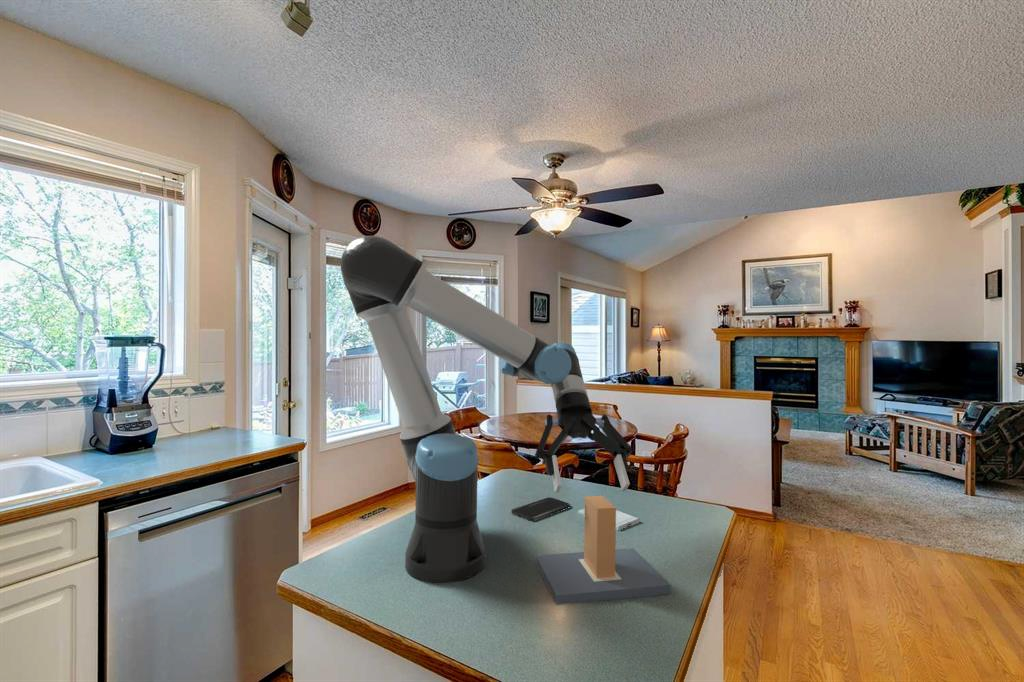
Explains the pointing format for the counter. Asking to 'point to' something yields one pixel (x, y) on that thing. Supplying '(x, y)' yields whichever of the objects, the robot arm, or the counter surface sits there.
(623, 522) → the hard drive
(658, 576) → the header board
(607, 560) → the tan rectangular block
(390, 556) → the counter surface
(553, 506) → the phone
